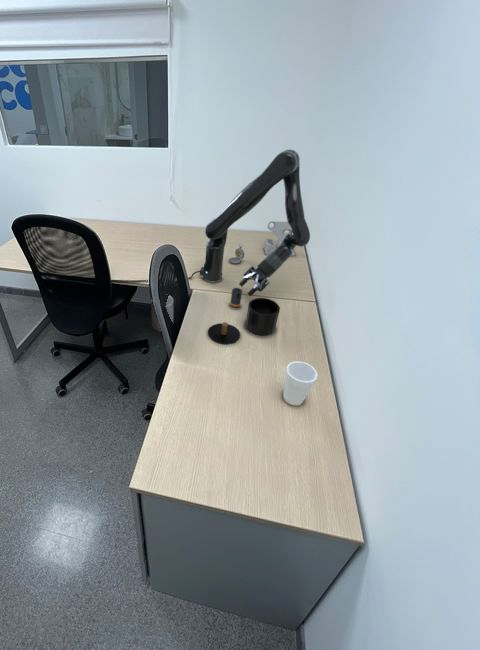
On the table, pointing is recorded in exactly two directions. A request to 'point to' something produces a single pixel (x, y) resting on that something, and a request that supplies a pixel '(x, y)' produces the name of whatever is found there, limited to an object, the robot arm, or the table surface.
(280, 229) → the phone holder
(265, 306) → the pot
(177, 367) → the table surface
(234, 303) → the socket
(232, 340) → the lid
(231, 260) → the pocket watch
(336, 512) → the table surface
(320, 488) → the table surface
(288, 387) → the foam cup
